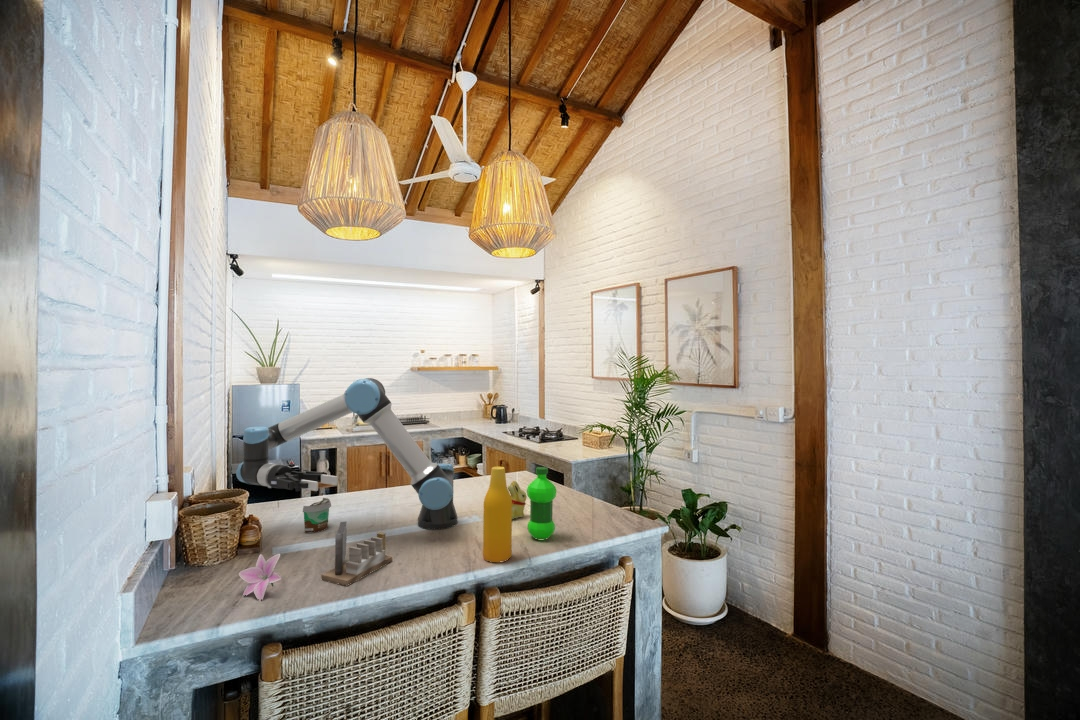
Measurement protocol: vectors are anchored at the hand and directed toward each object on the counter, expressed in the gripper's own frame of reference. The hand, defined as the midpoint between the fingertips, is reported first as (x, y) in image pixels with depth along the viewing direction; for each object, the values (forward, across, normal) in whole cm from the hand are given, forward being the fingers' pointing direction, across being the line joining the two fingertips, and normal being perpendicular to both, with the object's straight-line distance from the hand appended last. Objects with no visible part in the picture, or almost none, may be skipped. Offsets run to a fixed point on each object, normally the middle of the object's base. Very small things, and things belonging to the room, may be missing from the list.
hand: (327, 483), depth 159 cm
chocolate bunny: (+35, -63, -24) cm, 76 cm away
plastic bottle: (+54, -47, -24) cm, 75 cm away
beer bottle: (+48, -24, -24) cm, 59 cm away
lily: (+2, +24, -24) cm, 34 cm away
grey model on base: (+15, +2, -24) cm, 28 cm away
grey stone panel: (+9, +3, -22) cm, 24 cm away
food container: (-24, -20, -24) cm, 39 cm away
